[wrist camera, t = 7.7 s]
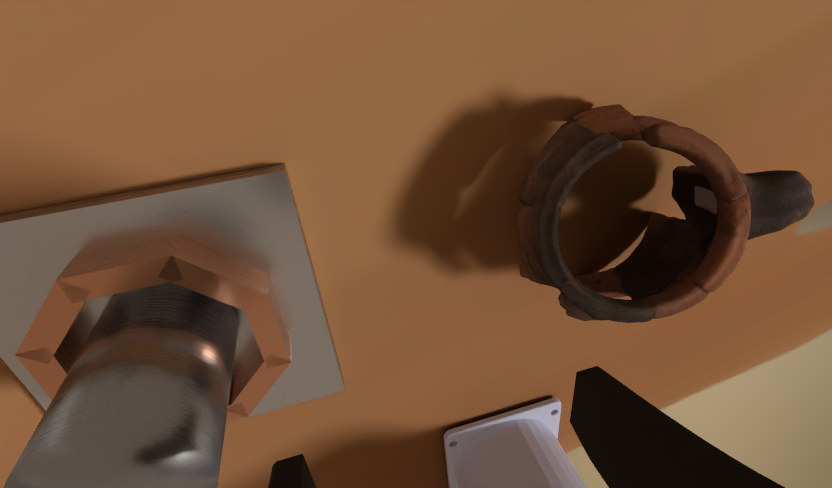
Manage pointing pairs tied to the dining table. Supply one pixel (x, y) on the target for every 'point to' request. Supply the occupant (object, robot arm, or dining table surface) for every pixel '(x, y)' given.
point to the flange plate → (178, 263)
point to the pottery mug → (652, 218)
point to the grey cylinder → (140, 398)
